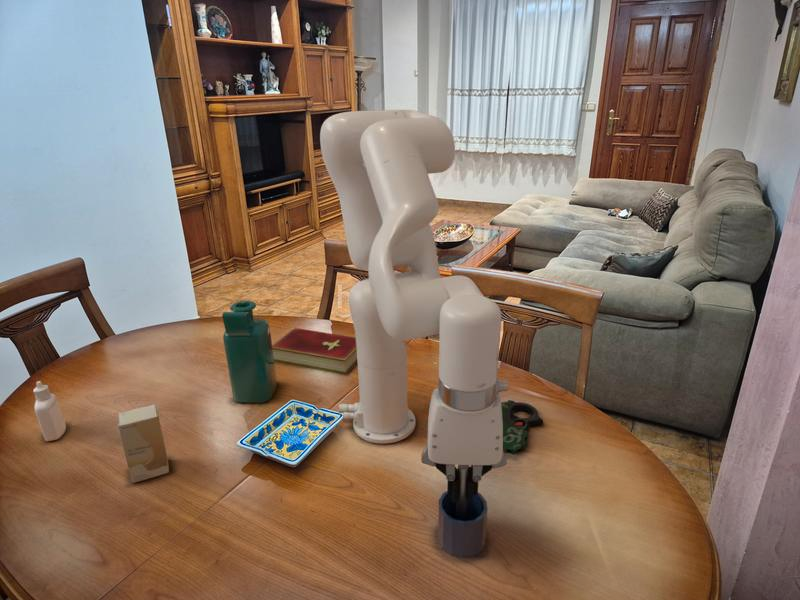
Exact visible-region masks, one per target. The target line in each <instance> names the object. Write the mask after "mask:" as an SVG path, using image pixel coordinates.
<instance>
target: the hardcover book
mask: <svg viewBox="0 0 800 600" xmlns="http://www.w3.org/2000/svg"><path fill="white" fill-rule="evenodd" d="M272 349H273V357H274V363H280V364H285V365H292V366H296V367H302V368H307V369H313V370H319V371H323V372H328V373H329V372H330V373H334V374H341V375H345V376H346V375H348V374H349V372H350V371H352V369H353V368H354V367H355V365H357V364H358V362H357V347H356V337H355V336H349V335H343V334H337V333H330V332H323V331H317V330H312V329H311V330H310V329H304V328H300V327H299V328H297V327H292V328H291V329H290V330H288V331H287V332H286V333H285V334H284V335H282V336H281V337H280V338H279V339H277V340H276V341H274V343H272Z"/></svg>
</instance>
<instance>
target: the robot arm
mask: <svg viewBox="0 0 800 600" xmlns="http://www.w3.org/2000/svg"><path fill="white" fill-rule="evenodd" d="M319 142H320V151H321V156H322V160H323V163H324V165H325V168H326V171H327V174H328V176H329V178H330V179H331V182H332V184H333V186H334V189H335V192H336V193H337V195H338V199H339V200H338V201H339V203H340V210H341V216H342V222H343V228H344V234H345V239H346V245H347V252H348V256H349V259H350V261H351V263H352V264H353V266H354V267H355V268H356V269H359V270H361V271H362V270H363V271H367V273H368V278H365V279H362V280H360V281H358V282H357V283H354V285H353V286H351V288H350V290H349V293H348V307H349V312H350V316H351V321H352V325H353V330H354V337H356V347H357V374H358V375H357V379H358V380H357V381H358V395H359V401H358V402H354V403H339V404H338V413H339V414H342V419H343V420H352V425H353V431H354V433H356V435H357V436H358V437H359V438H361V439H362V440H364V441H366V442H369V443H373V444H382V445H384V444H393V443H397V442H400V441H402V440H404V439H406V438H408V437H409V436H410V435H411V434H412V433H413V432H414V431H415V428H416V423H417V422H416V416H415V413H414V412H413V411H412V410H411V409H409V407H408V405H409V403H408V401H409V399H408V350H407V345H406V342H405V341H413V340H417V339H422V338H428V337H432V336H436V335H438V336H439V337H438V339H439V340H438V341H439V342H438V379H437V380H438V381H437V382H438V387H436V388H434V390H433V391H432V395H431V398H430V403H429V408H428V419H427V420H428V421H427V433H426V434H427V437H426V438H427V442H426V444H425V447H424V448H423V450H422V453H421V456H420V459H421V460H420V462H421V463H422V464H425V465H427V466H430V467H435V468H436V469H437V470H438V471H439V472H440V473H441V474H443V475H444V476H445V478H446V480H447V481H446V482H447V483H446V484H447V489H446V491H447V492H448V494H452V502H453V503H456V502H458V476H457V473H458V468H457V466H458V465H469V477H468V492H467V501H468V503H469V504H473V495H477V494H478V493H479V482H481V481H482V477H483V476H485V475H487V474H488V473H489V472H490V471H492V470H493V469H498V468H502V467H505V466H507V464H508V461H507V455H506V453H504V451H503V421H502V404H501V402H502V398H501V394H500V393H502V392H508V390H509V382H508V380H502V379H500V378H499V377H498V369H499V357H500V343H501V333H502V332H501V329H502V311H501V308H500V307H499V305H498V304H497V303H496V302H495V301H494V300H492V299H491V298H489V297H486V296H484V294H483V293H482V291H481V290H480V289H479V287H478V286H477V284H476V283H475V282H474V281H473V280H472V279H471V278H470V277H468V276H465V275H461V274H460V275H457V274H456V275H450V276H444V277H441V273H440V265H439V259H438V253H437V246H436V239H435V235H434V232H433V229H432V226H431V225H430V224H431V223H432V222H433V221H434V220H435V219H436V217H437V216H438V214H439V210H440V204H439V201H438V198H437V196H436V193H435V190H434V188H433V184H432V182H431V178H430V176H429V175H431V174H440V173H441V174H442V173H444V172H446V171H448V169H450V168H451V167H452V165H453V163H454V160H455V156H456V145H455V139H454V135H453V132H452V131H451V129H450V128H449V126H448V125H447V124H446V122H445V121H444V120H443V119H441V118H439V117H437V116H434V115H431V114H428V113H424V112H422V111H418V110H414V109H383V110H382V109H381V110H352V111H344V112H339V113H336V114H332V115H330V116H328V117H327V118H326V119H325V120H324V121H323V123H322V125H321V127H320V133H319ZM400 266H406V267H407V268H408V271H405V272H398V273H395V270H394V267H400ZM456 465H457V466H456Z"/></svg>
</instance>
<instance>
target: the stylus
mask: <svg viewBox="0 0 800 600" xmlns="http://www.w3.org/2000/svg"><path fill="white" fill-rule="evenodd" d="M469 467H470V465H457V469H458V473H457V476H458V502H456V520H460V521H466V518H467V492H468V477H469Z"/></svg>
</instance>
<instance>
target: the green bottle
mask: <svg viewBox="0 0 800 600" xmlns="http://www.w3.org/2000/svg"><path fill="white" fill-rule="evenodd" d="M256 307H257V303H256V302H255V301H251V300H241V301H236V302H234V303H232V304H231V305H230V306H229V310H230V311H224V312H222V320H223V321H222V322H223V326H224V330H225V331H224V333H223V336H222V338H223V345H224V351H225V357H226V363H227V369H228V375H229V380H230V385H231V392H232V399H233V400H234V401H235V402H236V403H240V404H245V403H247V404H248V403H249V404H251V403H252V404H256V403H257V404H263V403H266V402H269V400H271V399H272V397H273V395H274V392H275V390H276V389H277V386H278V381H277V375H276V365H275V362H274V357H273V349H272V344H273V342H272V334H271V327H270V324H269V322H268V321H267V320H266V319H263V318H255V317H254V309H256Z"/></svg>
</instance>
